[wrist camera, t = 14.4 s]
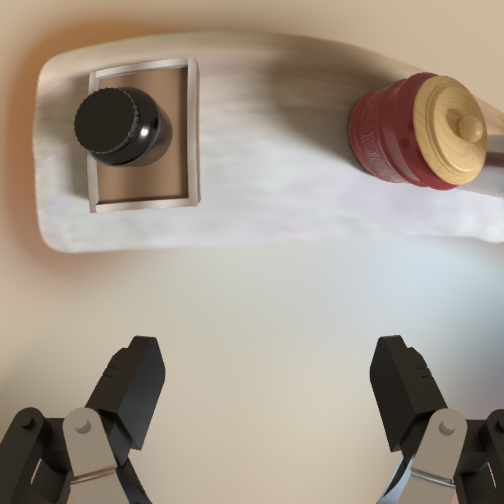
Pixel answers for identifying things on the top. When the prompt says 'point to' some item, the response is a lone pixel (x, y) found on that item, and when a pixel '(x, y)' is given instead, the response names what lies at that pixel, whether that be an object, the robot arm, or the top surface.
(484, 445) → the robot arm
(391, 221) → the top surface
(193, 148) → the open rectangular tray
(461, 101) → the canister
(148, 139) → the supplement bottle
